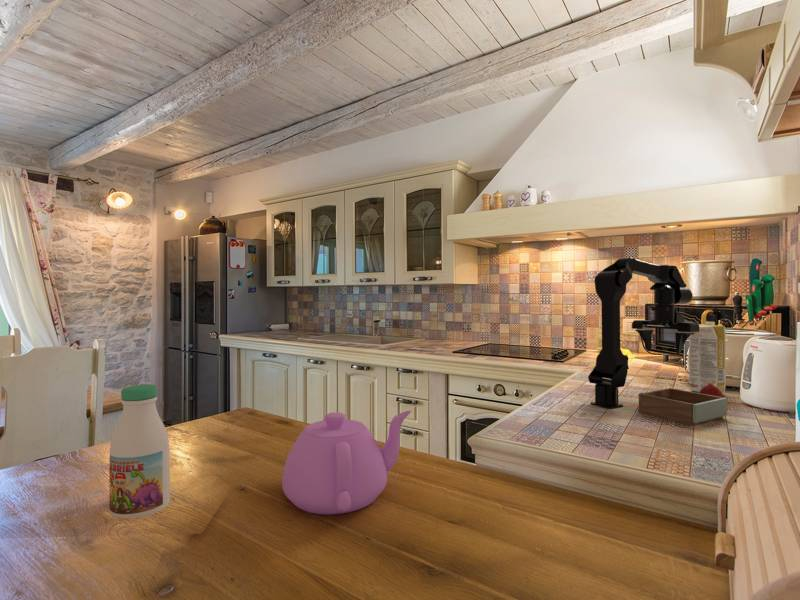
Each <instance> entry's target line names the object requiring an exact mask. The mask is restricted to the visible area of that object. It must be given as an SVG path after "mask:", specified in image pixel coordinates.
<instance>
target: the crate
mask: <svg viewBox="0 0 800 600" xmlns="http://www.w3.org/2000/svg"><path fill="white" fill-rule="evenodd" d="M720 398H724V396H723V397H718V396H712V395H706V394H701V393H699V392H695V391H688V390H682V389H677V388H672V387H668V388H663V389H658V390H657V389H655V390H652V391H651V390H650V391H646V392H641V393H638V413H640V414H644V415H648V416H652V417H655V418H660V419H663V420H668V421H672V422H675V423H678V424H679V423H680V424H683V425H687V426H691V427H693V426H697V425H700V424H701V425H702V424H704V423H708V422H712V421H717V420H719V419H723V417H724V416H722V417H718V418H714V419H710V420H706V421H702V422H698V423H694V422H693V404H697V403H702V402H706V401H711V400H715V399H720Z"/></svg>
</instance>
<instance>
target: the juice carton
mask: <svg viewBox="0 0 800 600" xmlns="http://www.w3.org/2000/svg"><path fill="white" fill-rule="evenodd" d="M698 325H699V332H694V333H695V334H691V335H690V336H689V337H688V339H689V341H688V342H689V343H688V344H689V345H688V349H689V350H688V353H689V355H688V357H689V360H688V361H689V362H688V363H689V364H688V365H689V367H688V370H689V371H688V373H689V374H688V375H689V376H688V378H689V379H688V382H689V390H690V392H695V393H699V392H700V390H701V389H702V388H703V387H705V386H707V385H708V384H709V382H712V383H713V385H714V386H716V387H717V388H718V389H719V390H720V391H721V392H722V394H723V395H724V393H726V392H725V391H726V385H727V383H726V381H727V380H726V373H727V372H726V371H727V370H726V369H727V367H726V366H727V365H726V361H727V359H726V358H727V357H726V355H727V354H726V351H727V346H726V345H727V343H726V336H727V335H726V326H725V325H716V322H715V321H708V320H707V321H705V324H704V323H703V324H701V323H700V324H699V323H698Z"/></svg>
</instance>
